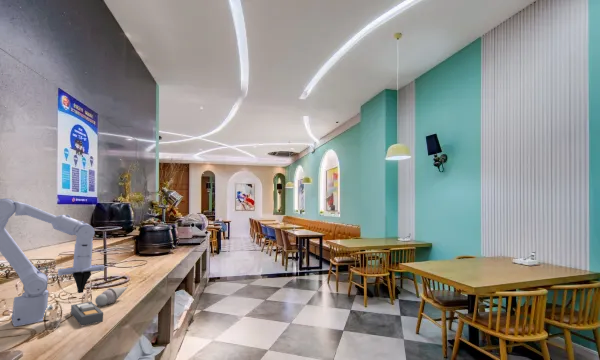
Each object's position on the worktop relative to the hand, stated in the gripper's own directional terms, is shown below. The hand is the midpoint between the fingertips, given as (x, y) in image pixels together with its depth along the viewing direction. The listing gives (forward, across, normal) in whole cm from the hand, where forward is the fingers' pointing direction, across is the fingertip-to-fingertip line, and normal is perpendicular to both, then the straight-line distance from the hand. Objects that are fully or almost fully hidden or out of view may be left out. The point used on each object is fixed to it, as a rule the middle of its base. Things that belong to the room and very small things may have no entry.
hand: (80, 292), depth 122 cm
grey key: (+5, +1, -7) cm, 8 cm away
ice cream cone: (+8, +13, +6) cm, 16 cm away
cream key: (+6, +1, -2) cm, 6 cm away
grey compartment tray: (+8, +1, -7) cm, 10 cm away
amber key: (+6, +1, -12) cm, 13 cm away
